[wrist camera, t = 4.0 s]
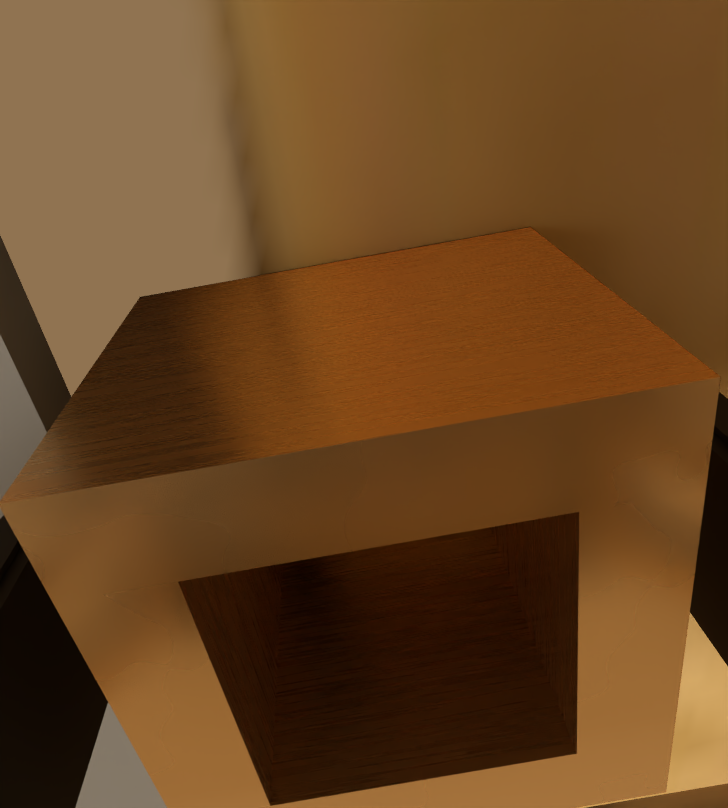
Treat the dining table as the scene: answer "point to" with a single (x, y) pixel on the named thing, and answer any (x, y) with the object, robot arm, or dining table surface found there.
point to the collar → (383, 532)
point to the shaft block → (3, 460)
